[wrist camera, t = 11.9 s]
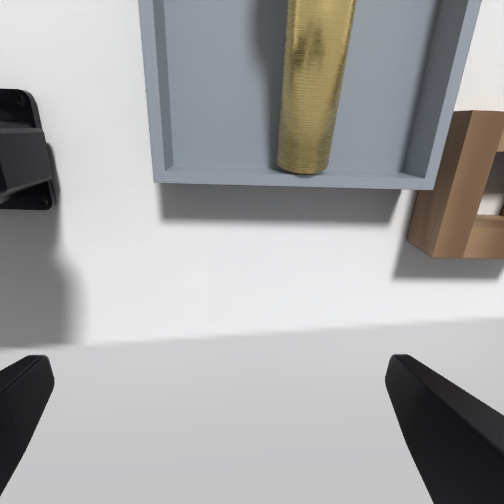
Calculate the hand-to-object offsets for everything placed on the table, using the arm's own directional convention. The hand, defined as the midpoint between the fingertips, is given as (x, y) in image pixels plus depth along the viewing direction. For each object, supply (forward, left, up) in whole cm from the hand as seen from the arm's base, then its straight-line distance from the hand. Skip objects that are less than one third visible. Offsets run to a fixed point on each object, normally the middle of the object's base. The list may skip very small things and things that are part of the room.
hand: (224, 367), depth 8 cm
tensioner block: (+16, +3, -13) cm, 21 cm away
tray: (+3, +10, -13) cm, 16 cm away
